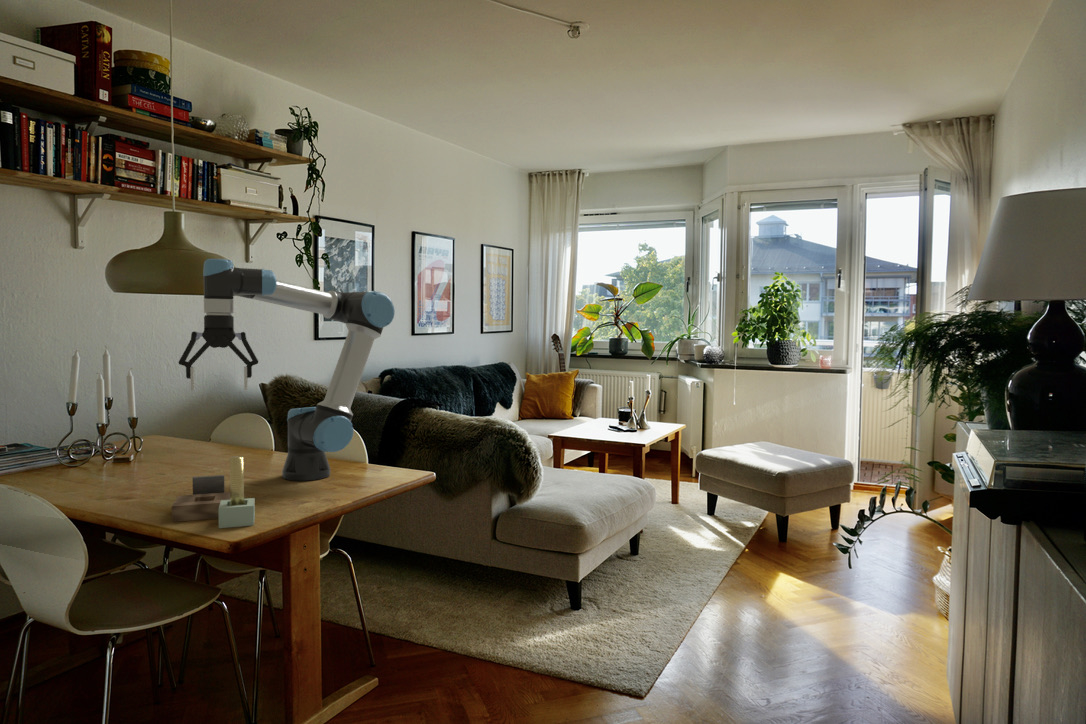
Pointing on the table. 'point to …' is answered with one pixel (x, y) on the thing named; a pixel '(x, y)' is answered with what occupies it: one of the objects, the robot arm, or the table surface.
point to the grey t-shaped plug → (208, 484)
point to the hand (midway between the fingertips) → (219, 390)
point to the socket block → (197, 506)
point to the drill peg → (236, 480)
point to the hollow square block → (236, 514)
